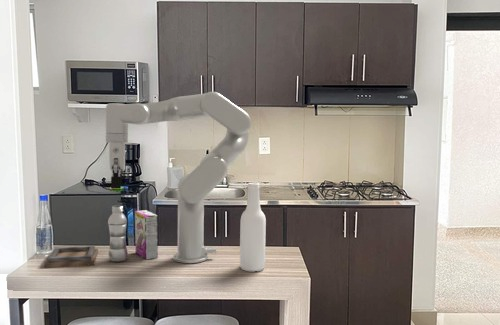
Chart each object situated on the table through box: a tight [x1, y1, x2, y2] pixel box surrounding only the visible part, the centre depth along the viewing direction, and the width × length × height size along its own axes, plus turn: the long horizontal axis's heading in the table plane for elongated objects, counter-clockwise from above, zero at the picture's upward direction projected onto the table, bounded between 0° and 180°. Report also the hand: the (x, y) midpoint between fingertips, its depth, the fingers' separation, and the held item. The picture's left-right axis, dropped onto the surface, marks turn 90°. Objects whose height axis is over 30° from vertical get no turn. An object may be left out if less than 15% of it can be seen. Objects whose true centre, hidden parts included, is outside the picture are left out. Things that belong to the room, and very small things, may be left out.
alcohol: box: [239, 182, 267, 273], centre depth 159 cm, size 9×9×30 cm
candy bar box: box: [134, 209, 159, 261], centre depth 173 cm, size 11×5×16 cm, turn 34°
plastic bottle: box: [107, 205, 128, 262], centre depth 166 cm, size 6×7×20 cm
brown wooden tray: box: [44, 245, 99, 269], centre depth 167 cm, size 16×16×3 cm
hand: (116, 186), depth 164 cm, fingers open, 9 cm apart
